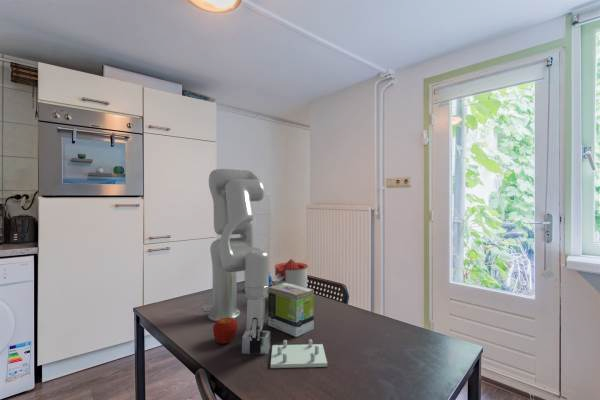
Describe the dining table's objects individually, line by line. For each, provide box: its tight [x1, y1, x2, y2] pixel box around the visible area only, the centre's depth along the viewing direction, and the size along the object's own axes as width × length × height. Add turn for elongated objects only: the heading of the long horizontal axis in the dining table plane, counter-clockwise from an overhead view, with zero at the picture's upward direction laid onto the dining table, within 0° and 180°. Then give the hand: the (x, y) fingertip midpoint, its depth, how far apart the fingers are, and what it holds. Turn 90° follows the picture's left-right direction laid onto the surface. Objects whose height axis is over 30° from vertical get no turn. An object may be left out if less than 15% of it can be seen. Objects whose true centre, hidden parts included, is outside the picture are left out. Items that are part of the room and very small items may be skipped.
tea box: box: [267, 283, 315, 338], centre depth 108 cm, size 15×10×15 cm
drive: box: [241, 330, 271, 355], centre depth 92 cm, size 8×5×5 cm, turn 87°
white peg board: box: [270, 338, 328, 369], centre depth 87 cm, size 16×11×3 cm
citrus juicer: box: [273, 258, 309, 288], centre depth 135 cm, size 16×17×20 cm
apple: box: [212, 317, 239, 345], centre depth 97 cm, size 8×8×8 cm
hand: (256, 345), depth 91 cm, fingers open, 8 cm apart
